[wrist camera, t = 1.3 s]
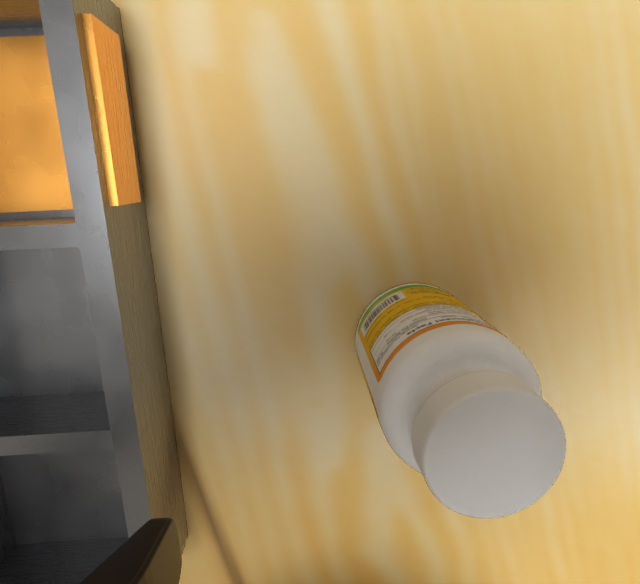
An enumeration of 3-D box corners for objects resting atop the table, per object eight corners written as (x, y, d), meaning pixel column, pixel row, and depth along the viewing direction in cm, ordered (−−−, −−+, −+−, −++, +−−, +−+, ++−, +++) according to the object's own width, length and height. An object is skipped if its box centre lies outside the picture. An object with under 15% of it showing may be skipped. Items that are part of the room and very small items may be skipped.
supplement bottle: (459, 391, 23) (573, 543, 13) (349, 387, 22) (387, 540, 13) (475, 283, 21) (613, 368, 12) (359, 277, 21) (407, 360, 12)
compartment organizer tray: (193, 534, 24) (172, 609, 20) (9, 547, 24) (-53, 626, 19) (126, 8, 18) (75, -42, 14) (-121, 15, 18) (-249, -33, 14)
